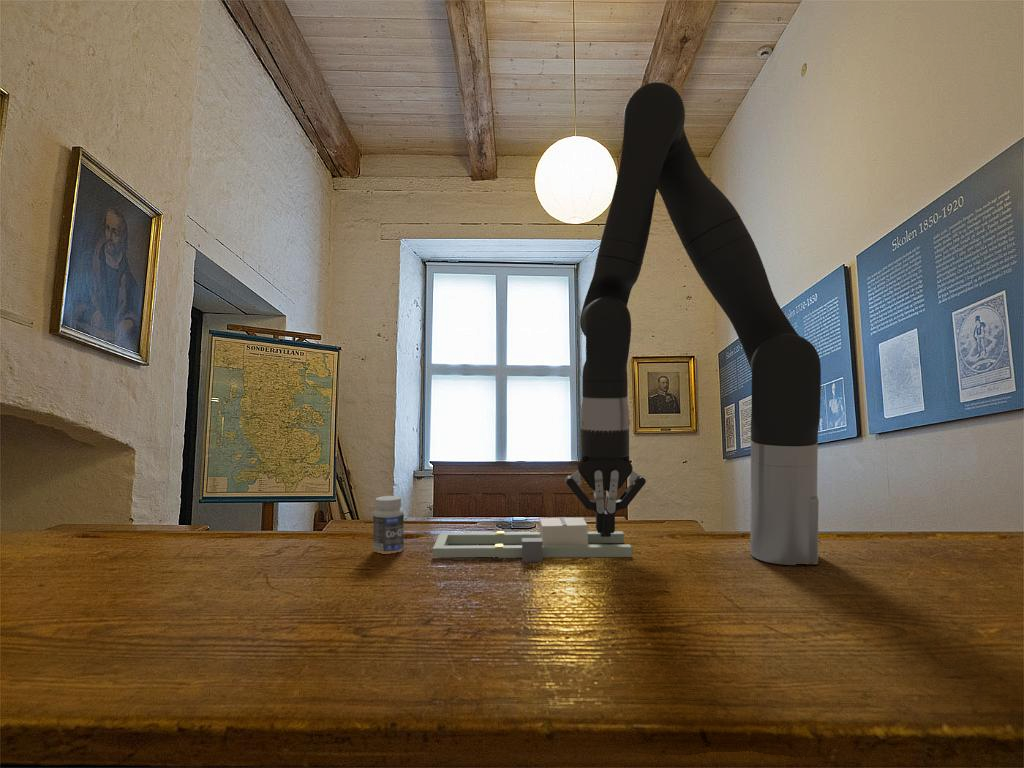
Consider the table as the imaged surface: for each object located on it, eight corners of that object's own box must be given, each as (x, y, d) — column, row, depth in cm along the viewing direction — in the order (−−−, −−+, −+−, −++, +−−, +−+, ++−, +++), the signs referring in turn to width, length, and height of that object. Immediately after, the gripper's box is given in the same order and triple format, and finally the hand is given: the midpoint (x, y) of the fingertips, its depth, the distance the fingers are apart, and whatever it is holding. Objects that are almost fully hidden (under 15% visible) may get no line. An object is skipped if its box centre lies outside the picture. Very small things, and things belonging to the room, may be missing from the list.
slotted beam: (622, 540, 112) (622, 522, 111) (633, 560, 100) (633, 540, 100) (440, 541, 112) (439, 523, 112) (431, 562, 101) (430, 542, 101)
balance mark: (504, 532, 112) (504, 531, 112) (502, 548, 103) (502, 546, 103) (496, 532, 112) (496, 531, 112) (494, 548, 103) (494, 546, 103)
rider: (583, 545, 110) (582, 516, 110) (587, 554, 105) (587, 524, 105) (539, 546, 109) (539, 517, 109) (542, 555, 104) (542, 525, 104)
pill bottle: (388, 556, 104) (387, 502, 103) (367, 551, 107) (366, 498, 106) (410, 549, 108) (409, 497, 107) (389, 544, 110) (389, 493, 110)
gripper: (643, 423, 110) (643, 529, 111) (561, 423, 110) (561, 529, 111) (652, 428, 102) (651, 542, 103) (564, 428, 103) (564, 542, 103)
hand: (605, 535), depth 107 cm, fingers closed
